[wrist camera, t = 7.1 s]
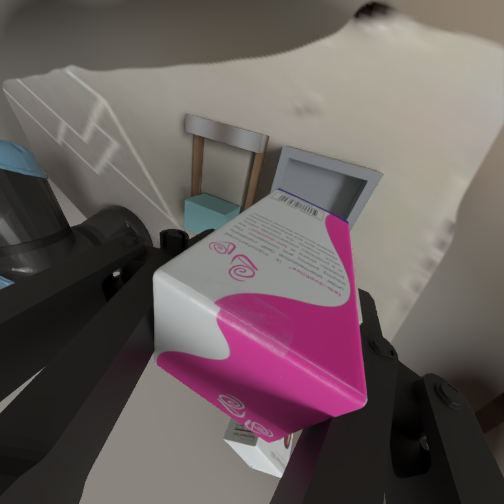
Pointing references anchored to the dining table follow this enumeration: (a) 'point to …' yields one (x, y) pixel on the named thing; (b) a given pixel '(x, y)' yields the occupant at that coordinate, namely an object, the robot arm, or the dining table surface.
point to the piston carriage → (207, 213)
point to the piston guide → (228, 136)
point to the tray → (326, 182)
